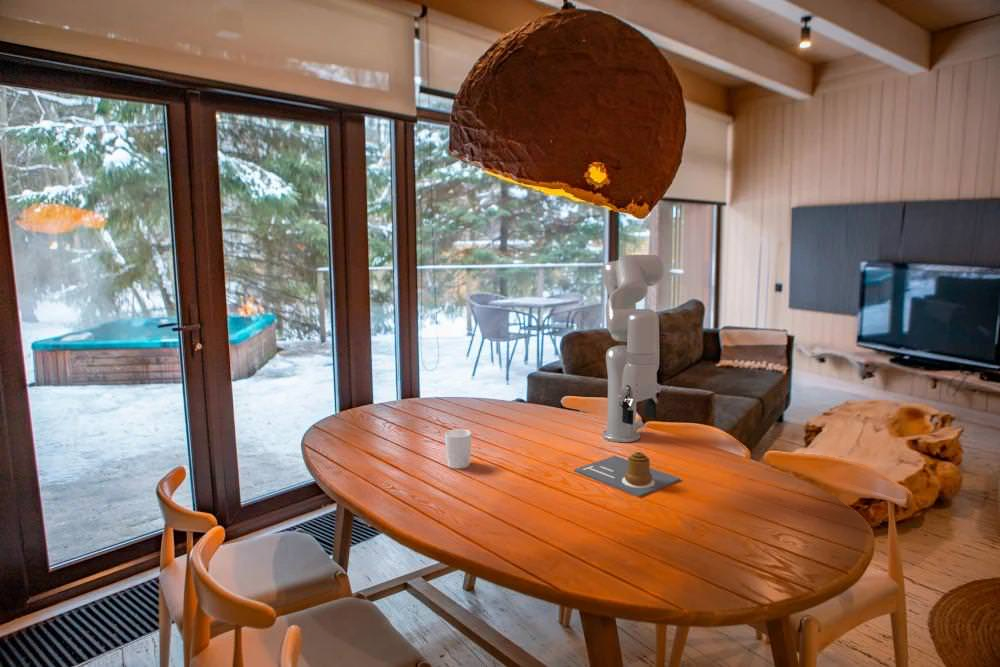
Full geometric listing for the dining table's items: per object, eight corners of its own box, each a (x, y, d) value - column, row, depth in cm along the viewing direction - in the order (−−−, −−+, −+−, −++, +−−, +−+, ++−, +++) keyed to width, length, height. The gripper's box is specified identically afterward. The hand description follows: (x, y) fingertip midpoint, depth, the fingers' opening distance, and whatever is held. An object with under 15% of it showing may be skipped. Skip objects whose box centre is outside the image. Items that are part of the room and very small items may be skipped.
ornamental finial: (629, 474, 179) (655, 479, 175) (620, 483, 172) (647, 488, 169) (630, 447, 178) (656, 451, 174) (621, 455, 171) (648, 460, 167)
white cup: (465, 471, 184) (465, 438, 183) (441, 468, 187) (440, 435, 185) (475, 461, 192) (474, 430, 190) (451, 459, 194) (451, 428, 192)
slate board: (614, 457, 194) (614, 455, 194) (680, 480, 176) (680, 478, 176) (573, 471, 183) (573, 469, 183) (639, 497, 165) (639, 494, 165)
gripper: (649, 352, 177) (648, 411, 179) (608, 360, 166) (607, 423, 169) (672, 356, 171) (669, 417, 174) (631, 365, 160) (629, 429, 163)
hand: (639, 419), depth 171 cm, fingers open, 9 cm apart
